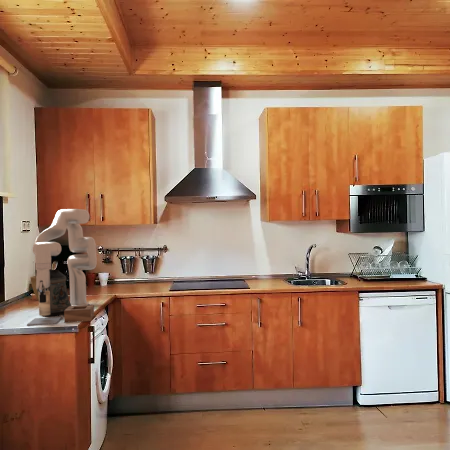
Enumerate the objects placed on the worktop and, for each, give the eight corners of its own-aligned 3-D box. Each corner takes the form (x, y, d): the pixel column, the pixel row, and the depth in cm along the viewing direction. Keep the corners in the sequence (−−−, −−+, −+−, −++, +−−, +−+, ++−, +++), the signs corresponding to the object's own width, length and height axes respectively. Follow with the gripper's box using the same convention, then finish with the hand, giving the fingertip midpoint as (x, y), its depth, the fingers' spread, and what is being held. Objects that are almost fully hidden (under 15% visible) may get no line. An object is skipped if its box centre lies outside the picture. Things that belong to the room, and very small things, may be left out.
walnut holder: (69, 317, 241) (69, 306, 241) (94, 315, 243) (93, 304, 243) (64, 322, 228) (64, 310, 228) (90, 320, 230) (90, 309, 230)
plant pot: (59, 297, 308) (58, 274, 308) (45, 301, 294) (44, 277, 294) (41, 297, 312) (40, 274, 312) (26, 301, 298) (25, 277, 298)
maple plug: (40, 313, 233) (40, 291, 233) (51, 313, 234) (50, 290, 234) (38, 315, 227) (37, 292, 227) (49, 315, 228) (48, 292, 228)
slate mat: (34, 319, 237) (34, 318, 237) (62, 318, 239) (62, 316, 239) (27, 325, 223) (27, 324, 223) (56, 324, 225) (56, 322, 225)
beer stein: (75, 310, 260) (74, 267, 259) (64, 317, 240) (63, 271, 240) (47, 311, 259) (45, 268, 259) (34, 318, 240) (32, 272, 240)
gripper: (40, 265, 238) (41, 299, 238) (31, 268, 221) (32, 304, 222) (54, 264, 240) (55, 298, 240) (46, 267, 223) (47, 303, 223)
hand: (44, 301), depth 231 cm, fingers closed on maple plug, 5 cm apart
